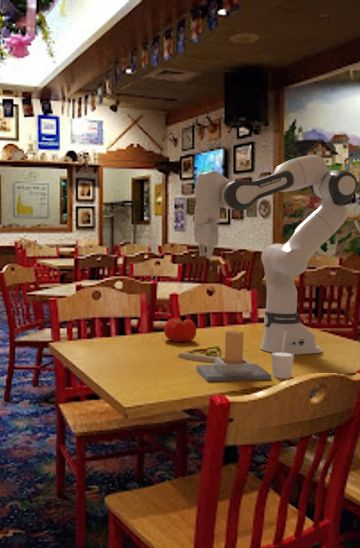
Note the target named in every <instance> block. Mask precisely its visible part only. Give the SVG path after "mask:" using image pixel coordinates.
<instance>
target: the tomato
mask: <svg viewBox="0 0 360 548" xmlns="http://www.w3.org/2000/svg"><path fill="white" fill-rule="evenodd" d="M163 332H164V335H165V337H166V338H167V339H168V340H170V341H172V342H173V341H174V342H177V343H179V342H185V343H186V342H187V343H188V342H190V341H193V340H194V339H195V338H196V335H197V326H196V324H195V322H194V321H193V320H190V319H185V320H182V319H180V318H178V317H174V318H169V319H168V320H167V321H166V322H165V325H164V329H163Z"/></svg>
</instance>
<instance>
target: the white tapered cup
mask: <svg viewBox="0 0 360 548" xmlns="http://www.w3.org/2000/svg"><path fill="white" fill-rule="evenodd" d="M294 358H295V355H293V354H291V353H286V352H274V353H273V352H271V365H272V377H274V378H275V379H276V378H277V379H291V378H292V371H293V365H294Z"/></svg>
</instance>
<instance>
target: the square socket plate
mask: <svg viewBox="0 0 360 548" xmlns="http://www.w3.org/2000/svg"><path fill="white" fill-rule="evenodd" d="M195 369H196V371H197V372H198V373H199V374H200V376H201V377H203V379H204V380H205V381H206V382H208V383H209V382H212V383H213V382H241V381H243V382H244V381H249V382H250V381H271V380H272V374H270V373H269V372H268V371H266V370H265V369H264V368H263V367H262V366H260V365H258V364H257V363H252V361H249V360H248V359H247V358H246V357H244V356H243V358H242V363H228V364H226V363H225V356H220V357H215V363H214V364H198V365H197V364H196V368H195Z"/></svg>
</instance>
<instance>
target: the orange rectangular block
mask: <svg viewBox="0 0 360 548" xmlns="http://www.w3.org/2000/svg"><path fill="white" fill-rule="evenodd" d="M224 340H225V342H224V344H225V346H224V347H225V348H224V357H225V363H226V364H228V363H242V358H243V357H244V356H243V355H244V354H243V352H244V331H239V330H229V331H225V339H224Z"/></svg>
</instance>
